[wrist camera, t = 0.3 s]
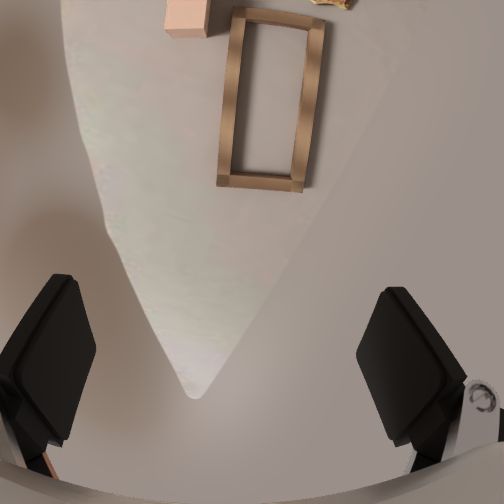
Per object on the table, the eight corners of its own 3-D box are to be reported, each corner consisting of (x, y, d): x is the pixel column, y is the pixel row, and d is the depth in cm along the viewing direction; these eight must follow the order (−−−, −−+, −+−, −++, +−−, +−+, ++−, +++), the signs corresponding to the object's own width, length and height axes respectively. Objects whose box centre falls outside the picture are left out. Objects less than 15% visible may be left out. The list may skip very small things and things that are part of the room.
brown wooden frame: (233, 10, 26) (233, 6, 25) (321, 23, 28) (325, 20, 26) (216, 182, 37) (216, 186, 35) (299, 189, 38) (302, 192, 37)
